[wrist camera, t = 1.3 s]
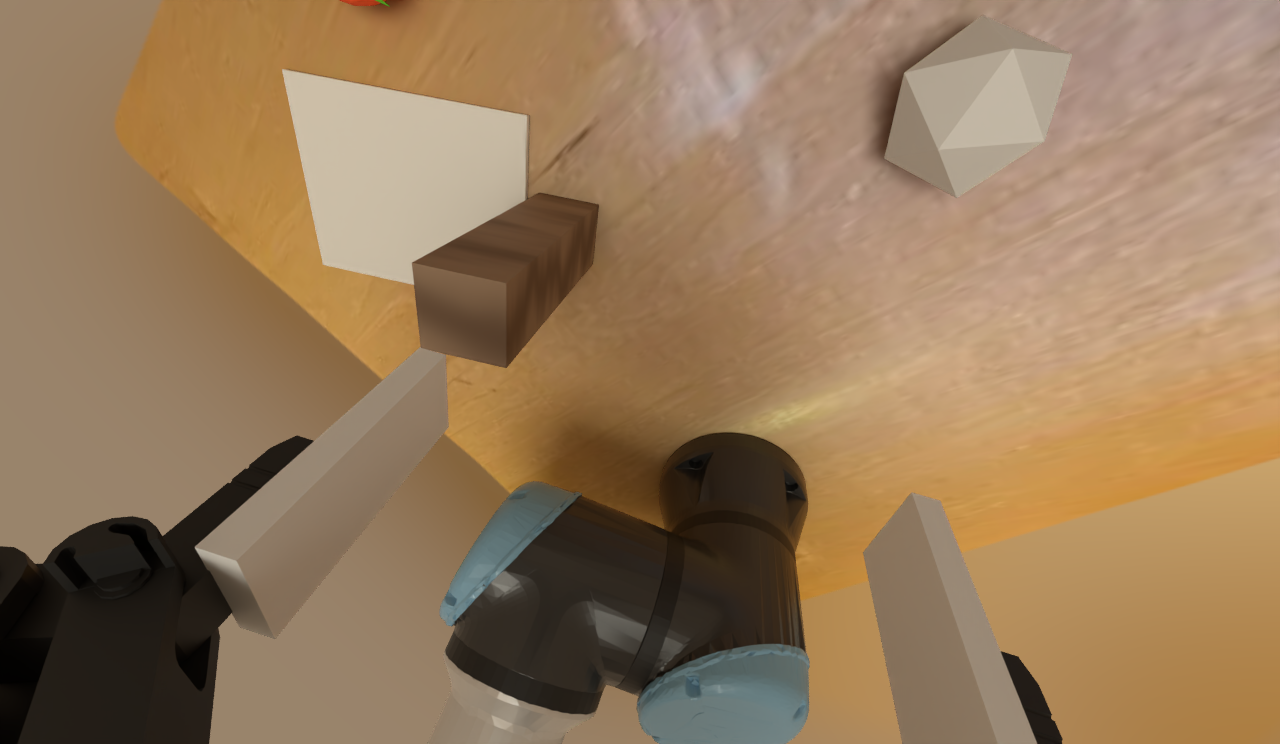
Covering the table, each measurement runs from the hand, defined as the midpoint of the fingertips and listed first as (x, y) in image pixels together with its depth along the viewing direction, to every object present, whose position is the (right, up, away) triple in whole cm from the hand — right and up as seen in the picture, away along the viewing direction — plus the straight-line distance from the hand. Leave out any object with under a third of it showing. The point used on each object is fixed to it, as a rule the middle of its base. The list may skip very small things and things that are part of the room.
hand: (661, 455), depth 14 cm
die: (+20, +20, +18) cm, 33 cm away
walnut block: (-7, +14, +27) cm, 31 cm away
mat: (-20, +17, +28) cm, 38 cm away
